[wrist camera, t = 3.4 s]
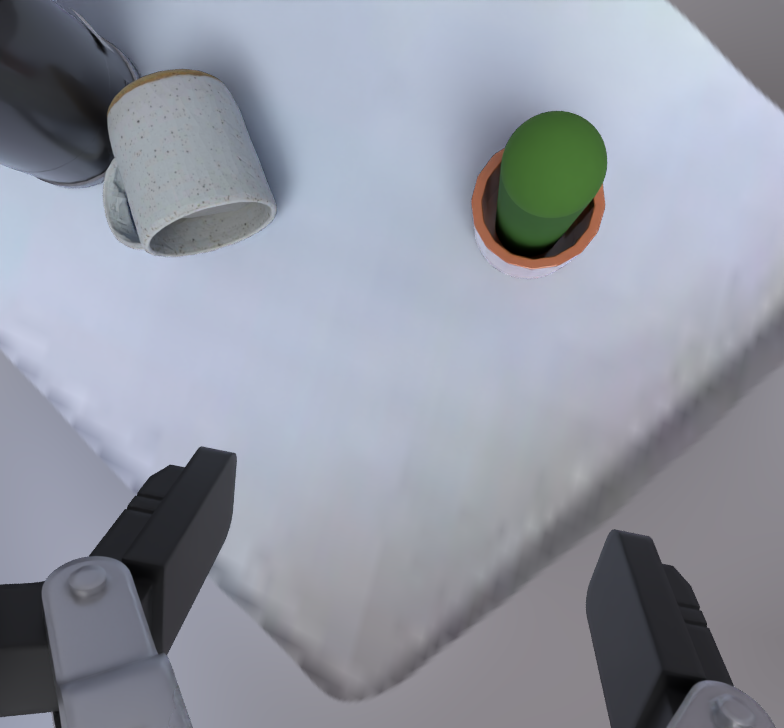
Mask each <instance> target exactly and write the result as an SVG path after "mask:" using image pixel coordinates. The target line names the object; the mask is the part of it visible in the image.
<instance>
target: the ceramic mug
mask: <svg viewBox="0 0 784 728" xmlns="http://www.w3.org/2000/svg"><path fill="white" fill-rule="evenodd" d="M107 123H108V133H109V138H110V142H111V147H112V151H113V154H114V157H115V158H114V159H113V160H112V162H111V163H110V165H109V167H108V169H107V171H106V174H105V179H104V184H103V203H104V209H105V214H106V218H107V221H108V224H109V227H110V229H111V231H112V233H113V234H114V236H115V237H116V238H117V240H119V241H120V242H121V243H123V244H124V245H126V246H128V247H130V248H133V249H138V250H145V251H146V252H148V253H150V254H152V255H154V256H163V257H181V256H189V255H195V254H201V253H206V252H210V251H214V250H217V249H219V248H222V247H225V246H229V245H232V244H235V243H237V242H240V241H242V240H244V239H246V238H248V237H251V236H252V235H253V234H256V233H258V232H259V231H261V230H262V229H263V228H265V227H266V226H267V225H268V224H269V223H271V221H272V220H273V219H274V218H275V215H276V212H277V205H276V203H275V200H274V197H273V195H272V192H271V190H270V187H269V185H268V182H267V180H266V177H265V174H264V172H263V169H262V167H261V164H260V161H259V159H258V156H257V154H256V151H255V149H254V146H253V144H252V142H251V139H250V136H249V134H248V131H247V128H246V126H245V123H244V120H243V117H242V114H241V112H240V110H239V108H238V106H237V104H236V102H235V100H234V98H233V97H232V95H231V93H230V91H229V90H228V88H227V87H226V86H225V85H224V84H223V83H222V81H220V80H219V79H217V78H216V77H214V76H212V75H210V74H207V73H204V72H202V71H197V70H190V69H175V70H165V71H159V72H156V73H152V74H149V75H146V76H144V77H141V78H139V79H137V80H135V81H134V82H132V83H130V84H128V85H127V86H126V87H124V88H123V89H122V90H121V91H120V92H119V93H118V94H117V95H116V96H115V97H114V99H113V100H112V102H111V104H110V106H109V109H108V112H107ZM125 192H126V194H125ZM126 195H127V198H128V202H129V205H130V209H131V212H132V215H133V219H134V222H135V226H136V229H137V232H136V231H135V230H134V227H133V224H132V221H131V218H130V213H129V209H128V206H127V200H126ZM137 233H138V234H137Z"/></svg>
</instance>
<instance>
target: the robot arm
mask: <svg viewBox="0 0 784 728" xmlns="http://www.w3.org/2000/svg"><path fill="white" fill-rule="evenodd" d="M71 9H72V8H71ZM72 10H73V9H72ZM73 11H74V10H73ZM74 12H75V11H74ZM75 13H76V14H77V16H78V17H79V18H80V19H81V20H82V21H83V22H84V23H85V25H86V26H87V27H88V28H87V27H86V26H85V25H83V24H82V23H81V22H80V21H79V20H77V19H76V18H75V17H73V16H72V15H71V14H70V13H68V12H67V11H66V10H64V9H63V8H62V7H60V6H59V5H58V4H56V3H55V2H54V1H52V0H0V164H1V165H4V166H7V167H9V168H12V169H15V170H18V171H21V172H24V173H27V174H30V175H33V176H35V177H37V178H38V179H40V180H43V181H45V182H48V183H51V184H54V185H57V186H61V187H66V188H84V187H90V186H94V185H97V184H99V183H102V182H104V179H105V174H106V171H107V169H108V167H109V165H110V163H111V162H112V160H113V159H114V158H115V157H114V154H113V151H112V147H111V142H110V138H109V133H108V123H107V112H108V109H109V106H110V104H111V102H112V100H113V99H114V97H115V96H116V95H117V94H118V93H119V92H120V91H121V90H122V89H123V88H124V87H126V86H127V85H128V84H130V83H132V82H134V81H135V80H137V79H139V78H140V77H139V75H138V73H137V71H136V69H135V68H134V66H133V64H132V63H131V62H130V60H129V59H128V58H127V57H126V56H125V55H124V54H123V53H122V52H121V51H120V50H119V49H118V48H116V47H115V46H114V45H113V44H111V43H110V42H108V41H107V40H106V39H104V38H102V37H100V36H99V35H98V34H97V33H96V32H95V31H94V29H93V28H92V27H91V26H90V25H89V24H88V23H87V22H86V20H85V19H84V18H83V17H82V16H81V15H79V14H78V13H77V12H75ZM236 464H237V457H236V454H235V453H232V452H227V451H222V450H217V449H212V448H207V447H202V446H201V447H200V448H198V450H197V451H196V452H195V454H194V455H193V457H192V458H191V460H190V461H189V462H188V464H187V465H186V467H180V466H175V465H169V466H167V467H165V468H164V469H162V470H160V471H159V472H157V473H155V474H154V475H152V476H150V477H149V479H148V480H147V481H146V482H145V484H144V485H143V486H142V488H141V489H140V490H139V492H138V494H137V496H135V497H134V498H133V499H132V501H131V502H130V503H129V505H128V507H127V509H125V510H124V511H123V512H122V514H121V515H120V516H119V518H118V519H117V520H116V522H115V523H114V524H113V525H112V527H111V528H110V529H109V531H108V532H107V533H106V535H105V536H104V537H103V538H102V540H101V541H100V542H99V544H98V545H97V546H96V548H95V549H94V550H93V551H92V553H91V554H90V555H89V557H84V558H79V559H75V560H72V561H70V562H68V563H66V564H64V565H62V566H60V567H59V568H57V569H56V570H54V571H53V572H52V573H51V574H50V575H49V576H48V578H47V579H46V580H45V581H43V582H36V583H24V584H3V585H0V717H6V716H16V715H26V714H36V713H46V712H51V714H52V720H53V726H54V728H193V727H192V724H191V721H190V718H189V715H188V712H187V710H186V706H185V703H184V701H183V698H182V695H181V692H180V689H179V686H178V683H177V680H176V678H175V675H174V672H173V669H172V666H171V663H170V661H169V658H168V657H167V654H168V652H169V650H170V648H171V646H172V644H173V642H174V640H175V638H176V636H177V634H178V632H179V630H180V628H181V626H182V624H183V622H184V620H185V618H186V616H187V614H188V612H189V611H190V609H191V607H192V605H193V603H194V601H195V599H196V597H197V595H198V593H199V591H200V589H201V587H202V585H203V583H204V581H205V579H206V577H207V575H208V573H209V571H210V569H211V567H212V565H213V563H214V561H215V559H216V557H217V555H218V553H219V551H220V550H221V548H222V546H223V544H224V542H225V539H226V537H227V534H228V531H229V528H230V524H231V520H232V514H233V503H234V490H235V477H236ZM699 608H700V606H699V604H698V601H697V599H696V597H695V594H694V592H693V590H692V588H691V586H690V584H689V583H688V582H687V581H686V580H685V579H684V578H683V577H682V576H681V574H680V573H679V572H678V571H677V570H676V569H675V568H674V567H673V566H671V565H666V564H662V563H661V560H660V558H659V555H658V553H657V550H656V547H655V545H654V543H653V540H652V539H651V538H650V537H649V536H645V535H639V534H634V533H629V532H625V531H619V530H615V529H614V530H612V531H611V532H610V533H609V535H608V537H607V539H606V541H605V544H604V547H603V549H602V552H601V555H600V557H599V560H598V563H597V565H596V568H595V570H594V573H593V576H592V578H591V581H590V584H589V587H588V591H587V597H586V614H587V619H588V623H589V628H590V633H591V637H592V642H593V647H594V651H595V656H596V660H597V665H598V670H599V674H600V679H601V683H602V688H603V693H604V697H605V702H606V706H607V711H608V716H609V720H610V725H611V728H775V726H774V723H773V722H772V720H771V718H770V717H769V715H768V714H767V713H766V712H765V710H764V709H763V708H762V707H761V706H760V705H759V704H758V703H757V702H756V701H755V700H754V699H752V698H751V697H750V696H748V695H747V694H746V693H744V692H743V691H741V690H739V689H737V688H735V687H734V685H733V683H732V680H731V678H730V676H729V673H728V671H727V669H726V666H725V664H724V662H723V660H722V657H721V655H720V653H719V650H718V648H717V646H716V643H715V641H714V639H713V636H712V634H711V632H710V629H709V628H707V623H706V620H705V618H704V616H703V613H702V611H700V610H699Z"/></svg>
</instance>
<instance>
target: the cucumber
mask: <svg viewBox="0 0 784 728" xmlns="http://www.w3.org/2000/svg"><path fill="white" fill-rule="evenodd" d="M606 170H607V153H606V148H605V145H604V141H603V139H602V137H601V135H600V134H599V132H598V131H597V129H596V128H595V127H594V126H593V125H592V124H591V123H590V122H588V121H587V120H586V119H584V118H582V117H581V116H578V115H576V114H573V113H570V112H565V111H550V112H545V113H541V114H539V115H536V116H534V117H532V118H530V119H528V120H527V121H526V122H524V123H523V124H522V125H521V126H520V127H518V128H517V129H516V131H515V132H514V133H513V134H512V136H511V137H510V139H509V140H508V142H507V144H506V147H505V149H504V152H503V156H502V161H501V170H500V180H499V190H498V200H497V210H496V220H495V228H496V233H497V236H498V238H499V240H500V241H501V243H502V244H503V245H504V247H505V248H507V249H508V250H509V251H511V252H512V253H514V254H517V255H520V256H527V257H530V256H537V255H540V254H543V253H545V252H547V251H548V250H550V249H551V248H552V247H553V246H554V245H555V244H556V243H557V242H558V240H559V239H560V238H561V237H562V236H563V234H564V233H565V232H566V231H567V230H568V228H569V227H570V226H571V225H572V223H573V222H574V221H575V220H576V219H577V217H578V216H579V215H580V214H581V213H582V211H583V210H584V209H585V208H586V207H587V205H588V204H589V203H590V202H591V201H592V199H593V198H594V197H595V196H596V194H597V193H598V191H599V189H600V187H601V185H602V183H603V181H604V178H605V175H606Z"/></svg>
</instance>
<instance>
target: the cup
mask: <svg viewBox="0 0 784 728" xmlns="http://www.w3.org/2000/svg"><path fill="white" fill-rule="evenodd" d="M504 149H505V148H504ZM504 149H502V150H501V151H499V152H497V153H496V154H495V155H493V156H492V158H491V159H490V160H489V162H488V163H487V164H486V166H485V167H484V168H483V170H482V171H481V172H480V174H479V175H478V177H477V181H476V185H475V188H474V192H473V195H472V199H471V205H472V214H473V224H474V232H475V240H476V243H477V245H478V247H479V249H480V251H481V253H482V254H483V256H484V257H485V259H486V260H487V261H488V262H489V263H490V264H491V265H492V266H493V267H494V268H496V269H497V270H499V271H500V272H502V273H504V274H506V275H509V276H512V277H516V278H523V279H532V278H539V277H543V276H547V275H549V274H551V273H553V272H555V271H557V270H558V269H560V268H562V267H563V266H565V265H566V264H568V263H569V262H570V261H572V260H573V259H574V258H575V257H577V256H578V255H579V254H580V253H581V252H582V251H583V250H584V249H585V248H586V246H587V245H588V244H589V243H590V241H591V240H592V239H593V238H594V236H595V235H596V234H597V232H598V230H599V227H600V223H601V220H602V217H603V213H604V210H605V198H604V190H603V183H602V185H601V187H600V189H599V191H598V193H597V194H596V196H595V197H594V198H593V199H592V201H591V202H590V203H589V204H588V205H587V207H586V208H585V209H584V210H583V211H582V213H581V214H580V215H579V216H578V217H577V219H576V220H575V221H574V222H573V223H572V225H571V226H570V227H569V228H568V230H567V231H566V232H565V233H564V234H563V236H562V237H561V238H560V239H559V240H558V242H557V243H556V244H555V245H554V246H553V247H552V248H551V249H550V250H548V251H547V252H545V253H543V254H540V255H537V256H530V257H527V256H520V255H517V254H514V253H512V252H511V251H509V250H508V249H507V248H505V247H504V245H503V244H502V243H501V241H500V240H499V238H498V236H497V233H496V228H495V220H496V210H497V200H498V190H499V180H500V170H501V161H502V156H503V152H504Z"/></svg>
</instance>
